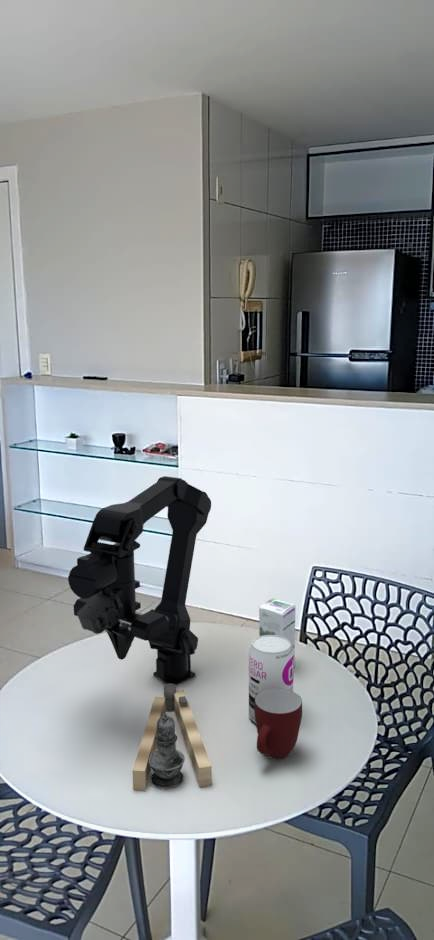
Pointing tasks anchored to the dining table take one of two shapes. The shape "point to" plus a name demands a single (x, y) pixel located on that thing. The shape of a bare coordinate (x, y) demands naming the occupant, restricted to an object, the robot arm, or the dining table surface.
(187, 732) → the tongs fixed arm
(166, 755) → the salt shaker
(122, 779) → the dining table surface
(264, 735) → the mug
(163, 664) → the robot arm
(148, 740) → the tongs jaw
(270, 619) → the syrup box
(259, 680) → the supplement can
